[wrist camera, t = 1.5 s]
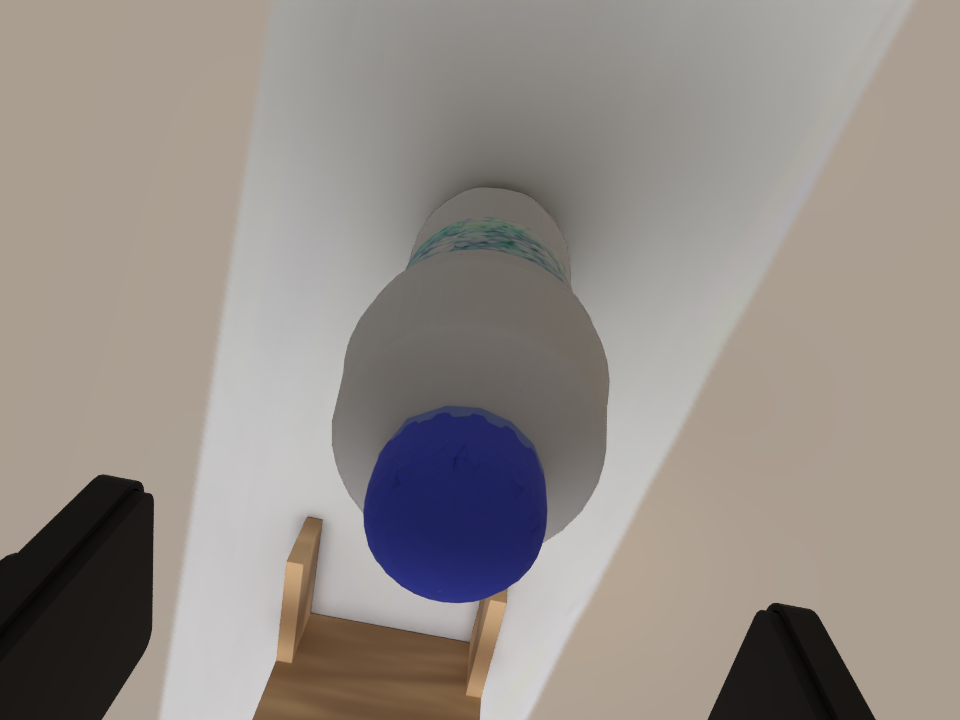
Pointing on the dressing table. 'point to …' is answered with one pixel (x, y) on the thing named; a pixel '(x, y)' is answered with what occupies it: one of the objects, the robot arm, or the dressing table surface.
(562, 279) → the bottle
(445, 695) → the wooden u-shaped piece
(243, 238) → the dressing table surface
